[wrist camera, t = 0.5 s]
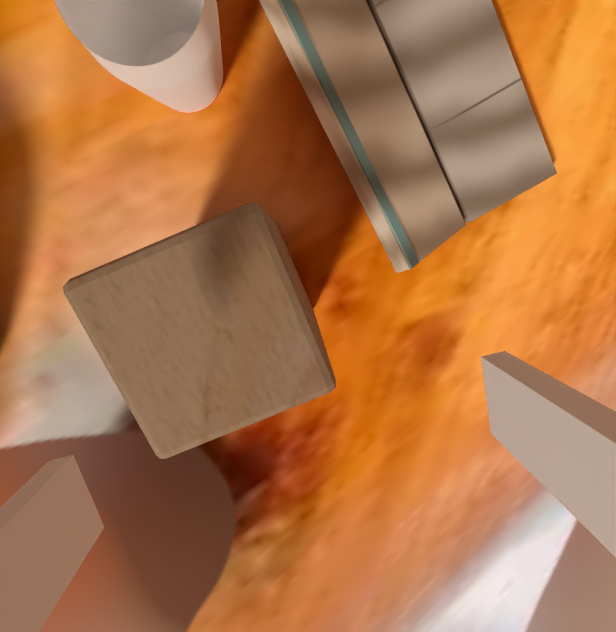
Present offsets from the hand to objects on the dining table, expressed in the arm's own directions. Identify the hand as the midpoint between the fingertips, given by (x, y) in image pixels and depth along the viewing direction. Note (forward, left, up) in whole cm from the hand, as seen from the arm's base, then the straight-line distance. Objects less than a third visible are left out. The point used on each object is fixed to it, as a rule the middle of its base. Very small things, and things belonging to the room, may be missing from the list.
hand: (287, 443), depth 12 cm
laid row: (-13, +23, -26) cm, 38 cm away
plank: (-13, +14, -24) cm, 30 cm away
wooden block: (-3, -3, -27) cm, 27 cm away
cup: (-22, +2, -27) cm, 35 cm away
